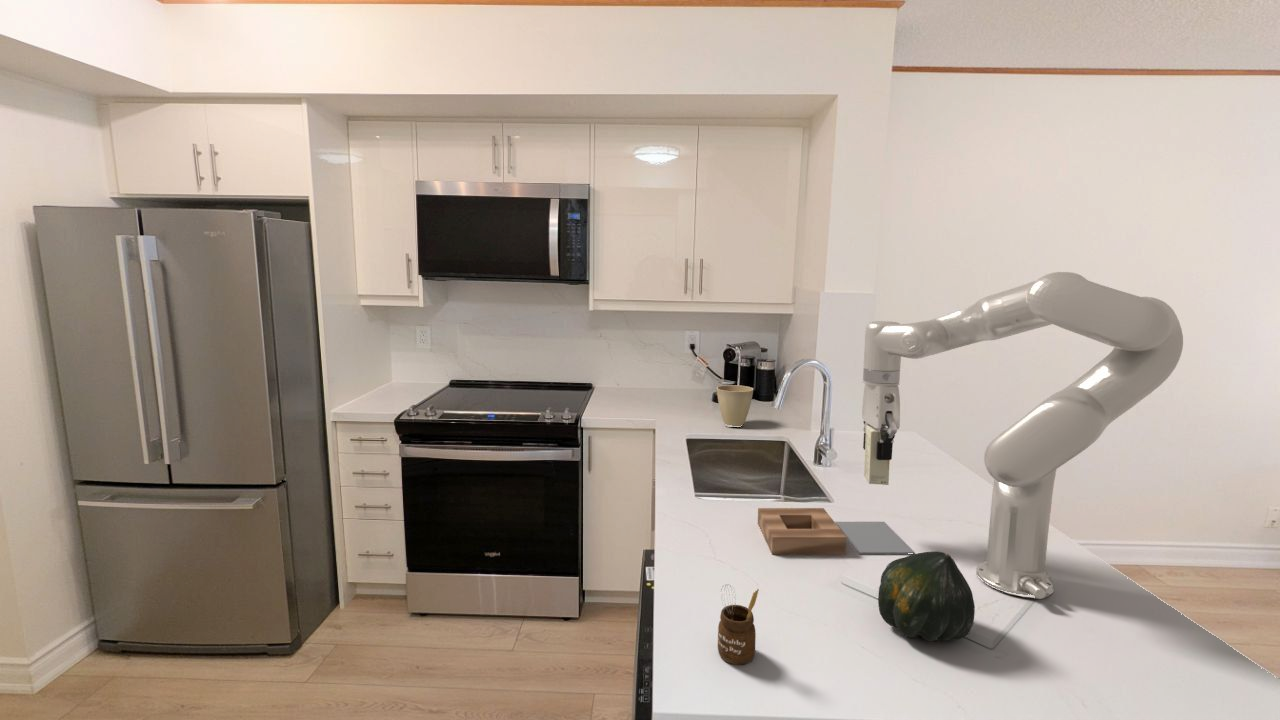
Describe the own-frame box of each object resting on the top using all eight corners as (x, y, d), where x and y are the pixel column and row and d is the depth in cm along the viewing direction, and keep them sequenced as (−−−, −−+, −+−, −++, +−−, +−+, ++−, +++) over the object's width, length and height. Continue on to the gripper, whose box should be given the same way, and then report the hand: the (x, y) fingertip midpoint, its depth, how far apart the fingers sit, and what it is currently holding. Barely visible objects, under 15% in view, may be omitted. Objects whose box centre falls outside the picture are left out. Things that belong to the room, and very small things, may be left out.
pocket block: (845, 554, 124) (846, 537, 123) (772, 554, 124) (772, 537, 123) (822, 523, 140) (823, 508, 139) (757, 523, 140) (758, 508, 139)
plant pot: (752, 431, 226) (753, 392, 224) (715, 429, 228) (715, 390, 226) (752, 422, 240) (753, 385, 238) (716, 421, 243) (717, 384, 241)
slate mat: (914, 554, 124) (914, 552, 124) (859, 554, 124) (859, 552, 124) (884, 523, 139) (884, 521, 139) (835, 523, 140) (835, 521, 140)
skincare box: (889, 485, 126) (892, 432, 124) (868, 484, 127) (871, 431, 125) (882, 476, 132) (885, 425, 131) (863, 475, 133) (865, 424, 132)
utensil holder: (729, 637, 95) (730, 570, 93) (763, 653, 91) (765, 583, 89) (710, 655, 91) (711, 585, 89) (745, 672, 87) (747, 599, 85)
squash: (849, 578, 103) (897, 543, 93) (912, 567, 109) (964, 532, 98) (888, 662, 95) (946, 634, 84) (955, 645, 100) (1017, 617, 89)
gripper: (916, 383, 118) (911, 466, 120) (882, 370, 135) (878, 443, 137) (880, 383, 118) (875, 466, 120) (850, 370, 135) (846, 443, 138)
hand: (876, 453), depth 129 cm, fingers closed on skincare box, 6 cm apart
